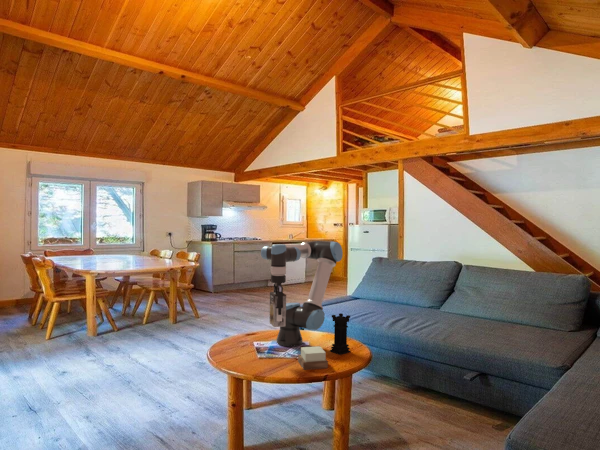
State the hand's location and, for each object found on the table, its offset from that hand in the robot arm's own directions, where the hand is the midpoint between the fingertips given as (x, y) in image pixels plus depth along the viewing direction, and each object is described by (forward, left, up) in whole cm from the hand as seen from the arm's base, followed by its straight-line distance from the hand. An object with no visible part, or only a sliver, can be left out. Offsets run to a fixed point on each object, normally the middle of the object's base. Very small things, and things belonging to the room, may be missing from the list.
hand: (277, 318), depth 208 cm
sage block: (+9, +16, -18) cm, 26 cm away
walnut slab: (+9, +16, -22) cm, 29 cm away
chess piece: (-8, +37, -22) cm, 43 cm away
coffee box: (0, 0, -3) cm, 3 cm away
